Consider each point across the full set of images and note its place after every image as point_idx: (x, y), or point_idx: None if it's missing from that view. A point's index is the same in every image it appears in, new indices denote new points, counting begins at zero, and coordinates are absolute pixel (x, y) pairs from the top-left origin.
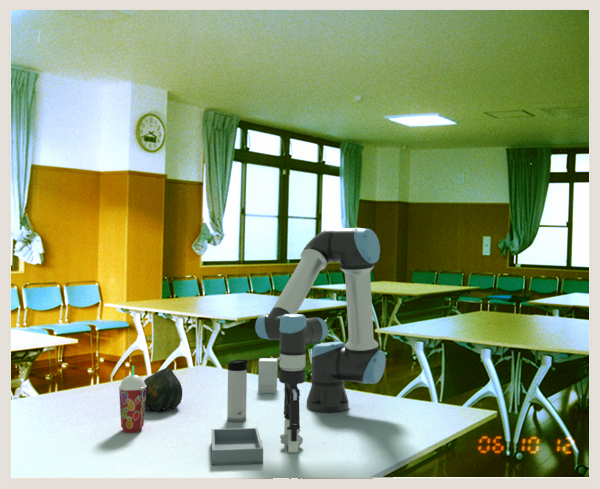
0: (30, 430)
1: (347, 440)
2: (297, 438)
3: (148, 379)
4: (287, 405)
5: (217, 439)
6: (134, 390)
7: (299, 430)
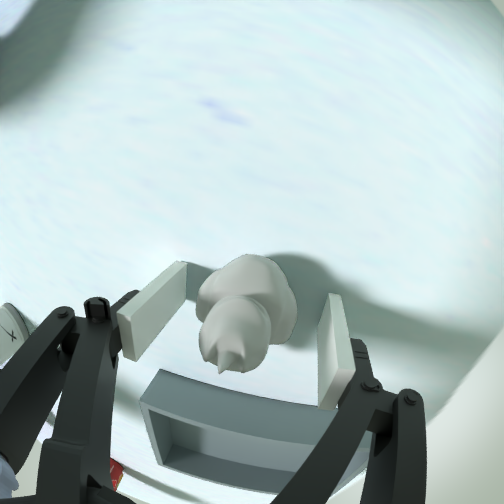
0: (129, 493)
1: (215, 8)
2: (346, 336)
3: None
4: (108, 438)
5: (171, 442)
6: None
7: (258, 309)
